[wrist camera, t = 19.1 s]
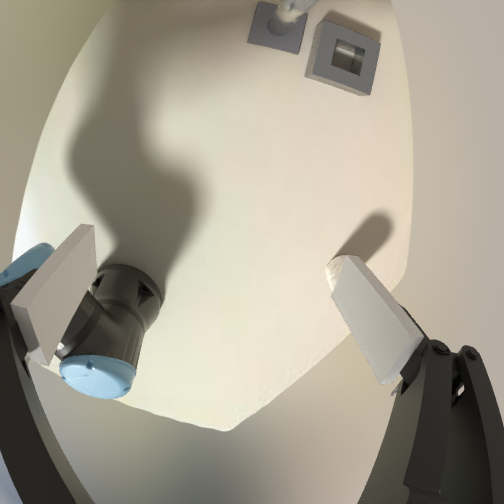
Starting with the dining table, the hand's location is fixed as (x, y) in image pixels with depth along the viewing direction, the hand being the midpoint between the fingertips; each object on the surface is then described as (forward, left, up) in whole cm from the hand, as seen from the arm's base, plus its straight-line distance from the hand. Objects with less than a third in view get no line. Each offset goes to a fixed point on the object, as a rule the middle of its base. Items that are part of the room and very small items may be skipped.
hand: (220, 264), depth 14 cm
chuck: (+15, +21, -34) cm, 42 cm away
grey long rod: (+4, +24, -33) cm, 41 cm away
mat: (+4, +24, -34) cm, 41 cm away
